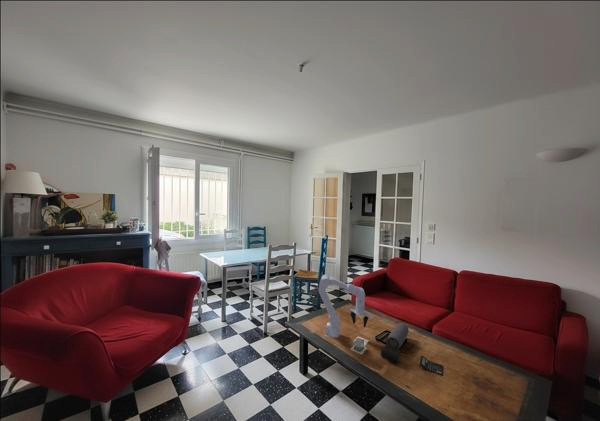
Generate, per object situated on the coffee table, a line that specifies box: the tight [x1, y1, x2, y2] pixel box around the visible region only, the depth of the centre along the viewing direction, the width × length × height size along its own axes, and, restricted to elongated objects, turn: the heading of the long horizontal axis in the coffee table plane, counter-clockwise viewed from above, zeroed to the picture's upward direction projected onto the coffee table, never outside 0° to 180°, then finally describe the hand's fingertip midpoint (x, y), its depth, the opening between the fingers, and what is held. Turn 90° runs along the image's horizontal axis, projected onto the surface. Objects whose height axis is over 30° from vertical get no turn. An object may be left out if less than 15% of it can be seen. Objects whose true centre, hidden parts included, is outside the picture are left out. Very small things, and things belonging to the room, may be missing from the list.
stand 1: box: [353, 336, 369, 347], centre depth 166 cm, size 8×8×2 cm
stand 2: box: [349, 345, 368, 355], centre depth 158 cm, size 8×8×2 cm
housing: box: [353, 337, 365, 352], centre depth 158 cm, size 4×6×5 cm
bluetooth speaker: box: [386, 322, 409, 350], centre depth 167 cm, size 23×9×10 cm, turn 143°
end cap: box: [380, 344, 401, 364], centre depth 150 cm, size 10×7×7 cm
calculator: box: [419, 354, 444, 376], centre depth 144 cm, size 9×12×3 cm
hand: (359, 324), depth 170 cm, fingers open, 7 cm apart
